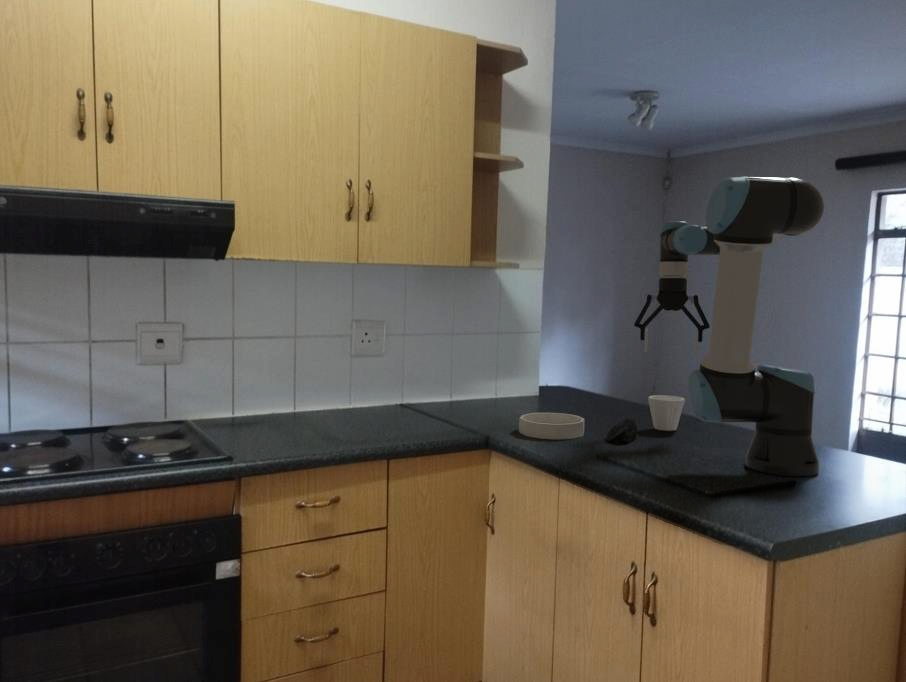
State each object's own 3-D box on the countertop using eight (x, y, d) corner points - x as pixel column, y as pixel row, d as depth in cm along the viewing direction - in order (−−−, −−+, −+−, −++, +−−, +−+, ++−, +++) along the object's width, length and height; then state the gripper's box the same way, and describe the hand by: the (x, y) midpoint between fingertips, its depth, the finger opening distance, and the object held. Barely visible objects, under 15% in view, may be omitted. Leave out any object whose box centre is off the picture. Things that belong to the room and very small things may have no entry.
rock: (602, 443, 187) (602, 421, 187) (611, 436, 196) (612, 415, 196) (629, 446, 184) (630, 423, 184) (637, 438, 193) (637, 417, 193)
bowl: (581, 441, 188) (581, 426, 188) (515, 436, 193) (515, 422, 192) (585, 428, 205) (586, 414, 205) (525, 424, 210) (525, 411, 209)
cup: (682, 427, 208) (683, 396, 208) (684, 434, 199) (685, 401, 198) (647, 425, 211) (648, 394, 210) (647, 431, 201) (648, 399, 201)
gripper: (719, 278, 200) (716, 353, 201) (627, 277, 207) (625, 350, 208) (721, 277, 192) (718, 355, 194) (626, 276, 199) (624, 352, 201)
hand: (670, 353), depth 201 cm, fingers open, 13 cm apart
